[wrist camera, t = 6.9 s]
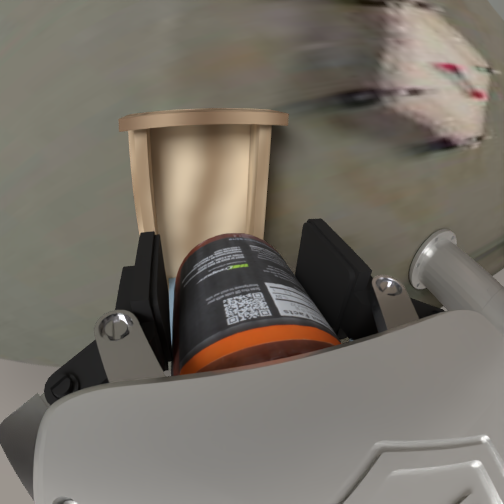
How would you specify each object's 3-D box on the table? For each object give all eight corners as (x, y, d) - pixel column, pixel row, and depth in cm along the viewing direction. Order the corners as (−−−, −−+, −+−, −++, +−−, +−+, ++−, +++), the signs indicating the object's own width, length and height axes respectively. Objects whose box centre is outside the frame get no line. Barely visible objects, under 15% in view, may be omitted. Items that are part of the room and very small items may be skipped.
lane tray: (269, 109, 24) (288, 113, 20) (255, 303, 37) (266, 330, 33) (129, 114, 21) (118, 119, 17) (157, 314, 34) (157, 344, 30)
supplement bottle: (225, 340, 16) (267, 522, 6) (152, 279, 14) (124, 507, 4) (304, 281, 16) (418, 452, 6) (240, 203, 13) (371, 418, 3)
